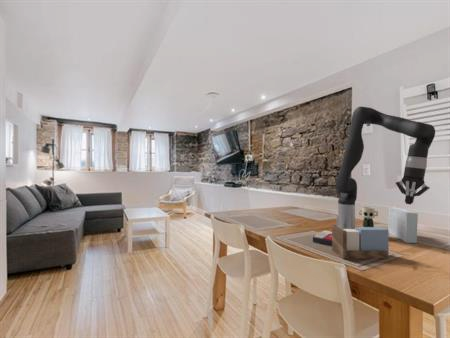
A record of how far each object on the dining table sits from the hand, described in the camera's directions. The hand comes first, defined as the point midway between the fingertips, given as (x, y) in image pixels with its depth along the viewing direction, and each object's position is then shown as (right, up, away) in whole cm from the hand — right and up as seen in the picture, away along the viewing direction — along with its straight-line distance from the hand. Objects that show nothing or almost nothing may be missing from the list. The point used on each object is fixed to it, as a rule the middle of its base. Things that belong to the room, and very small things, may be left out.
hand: (408, 204), depth 110 cm
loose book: (-19, -23, -3) cm, 30 cm away
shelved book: (-29, -22, -3) cm, 37 cm away
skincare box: (+14, -23, +24) cm, 36 cm away
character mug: (+9, -23, +46) cm, 52 cm away
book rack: (-25, -22, -3) cm, 33 cm away
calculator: (-30, -23, +17) cm, 41 cm away
